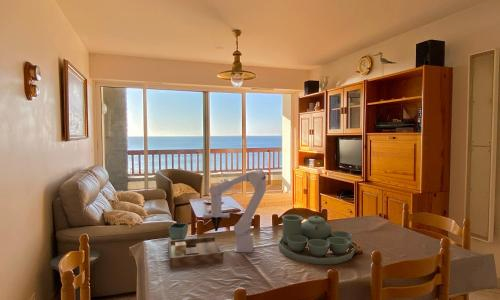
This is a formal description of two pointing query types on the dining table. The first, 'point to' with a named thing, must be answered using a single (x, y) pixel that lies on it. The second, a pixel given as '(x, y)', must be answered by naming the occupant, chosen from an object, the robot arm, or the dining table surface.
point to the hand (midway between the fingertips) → (216, 230)
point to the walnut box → (195, 252)
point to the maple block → (180, 247)
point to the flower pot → (178, 231)
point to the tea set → (314, 241)
